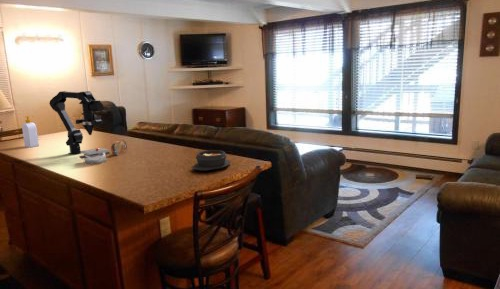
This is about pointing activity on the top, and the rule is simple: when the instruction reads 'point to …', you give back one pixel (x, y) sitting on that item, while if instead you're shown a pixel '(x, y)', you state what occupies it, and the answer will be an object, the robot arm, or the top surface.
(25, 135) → the soap bottle
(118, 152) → the tin
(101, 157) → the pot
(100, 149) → the lid
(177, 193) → the top surface
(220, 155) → the casserole
